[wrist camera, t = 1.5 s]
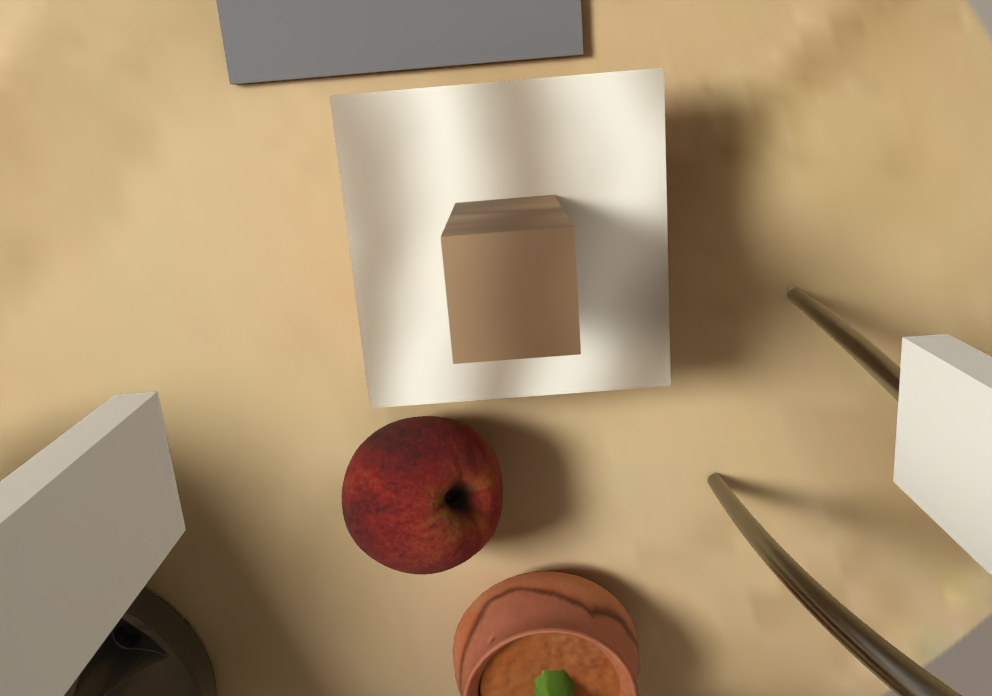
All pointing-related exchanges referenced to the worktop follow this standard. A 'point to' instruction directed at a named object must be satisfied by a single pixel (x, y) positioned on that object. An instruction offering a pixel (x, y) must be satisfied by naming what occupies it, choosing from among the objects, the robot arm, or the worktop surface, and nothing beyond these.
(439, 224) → the lid
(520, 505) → the worktop surface
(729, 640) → the worktop surface
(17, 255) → the worktop surface
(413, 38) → the mat
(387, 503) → the apple
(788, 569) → the juicer
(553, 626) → the potted flower
